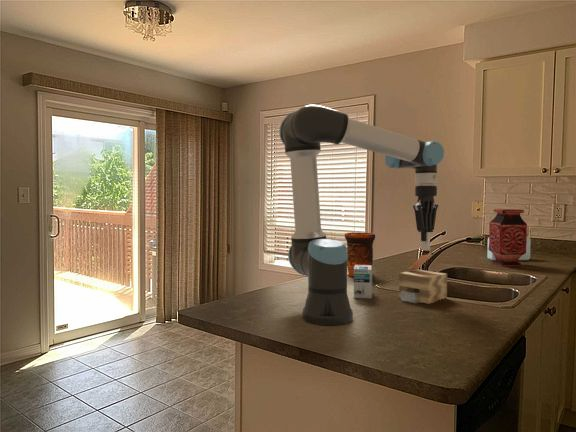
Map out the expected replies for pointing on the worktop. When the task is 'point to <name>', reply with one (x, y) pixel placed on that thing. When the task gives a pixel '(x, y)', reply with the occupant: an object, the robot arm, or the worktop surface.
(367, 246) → the vessel
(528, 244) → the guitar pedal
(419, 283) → the block
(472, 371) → the worktop surface
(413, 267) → the keeper tab
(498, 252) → the vase
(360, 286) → the light bulb box
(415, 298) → the grey t-shaped bar
